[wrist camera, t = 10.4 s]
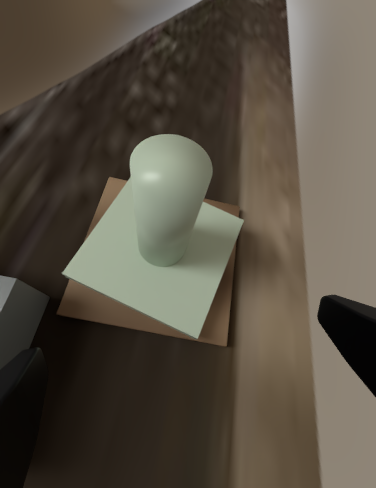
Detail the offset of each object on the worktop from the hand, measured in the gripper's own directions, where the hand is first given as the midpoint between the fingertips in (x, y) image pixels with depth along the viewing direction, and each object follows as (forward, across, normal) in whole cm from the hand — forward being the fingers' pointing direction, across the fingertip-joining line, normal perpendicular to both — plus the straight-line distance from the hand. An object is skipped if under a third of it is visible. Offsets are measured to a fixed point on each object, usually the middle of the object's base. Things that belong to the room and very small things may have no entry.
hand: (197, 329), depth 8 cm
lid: (+10, 0, +2) cm, 11 cm away
